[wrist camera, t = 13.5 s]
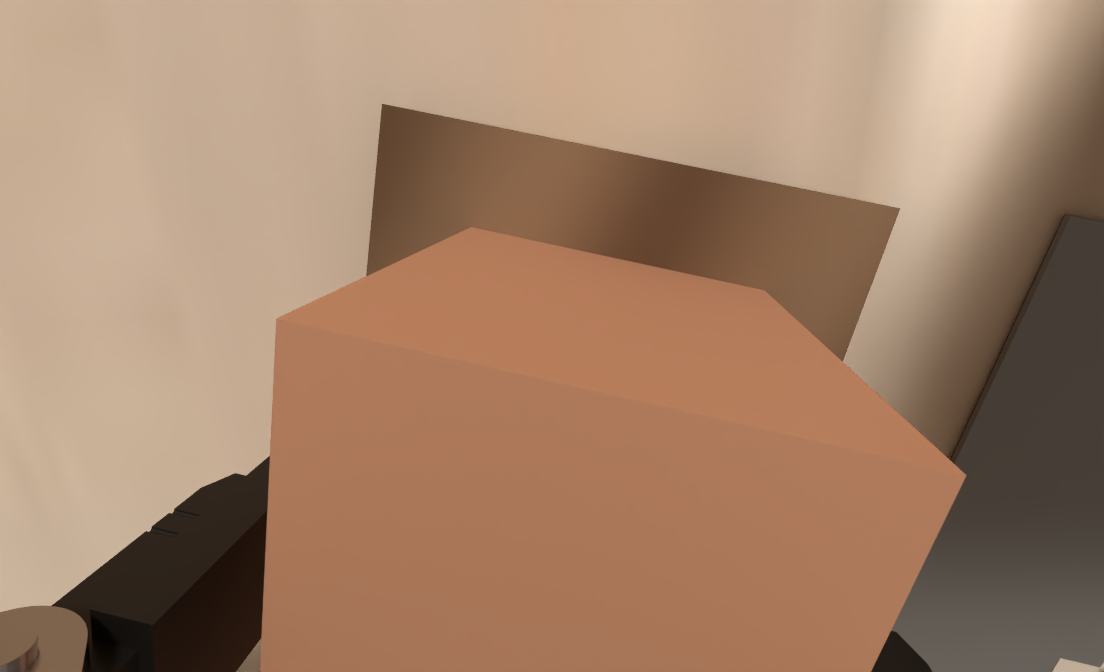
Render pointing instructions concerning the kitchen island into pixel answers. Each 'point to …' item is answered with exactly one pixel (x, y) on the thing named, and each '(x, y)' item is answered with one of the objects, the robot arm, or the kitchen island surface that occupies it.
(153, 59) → the kitchen island surface
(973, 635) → the tile
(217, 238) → the kitchen island surface
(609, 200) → the walnut board
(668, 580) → the terracotta block
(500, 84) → the kitchen island surface
